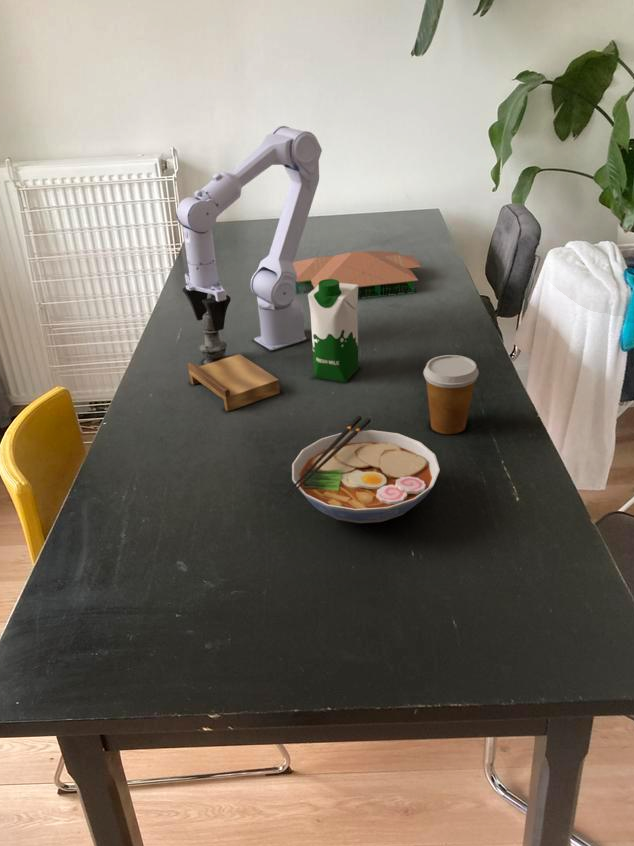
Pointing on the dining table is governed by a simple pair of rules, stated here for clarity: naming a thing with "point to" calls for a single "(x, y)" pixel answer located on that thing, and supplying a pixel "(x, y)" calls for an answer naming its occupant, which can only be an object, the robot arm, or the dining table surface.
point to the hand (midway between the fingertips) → (210, 324)
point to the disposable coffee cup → (450, 391)
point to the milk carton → (334, 329)
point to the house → (359, 269)
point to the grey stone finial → (212, 343)
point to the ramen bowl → (365, 474)
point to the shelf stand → (235, 381)
